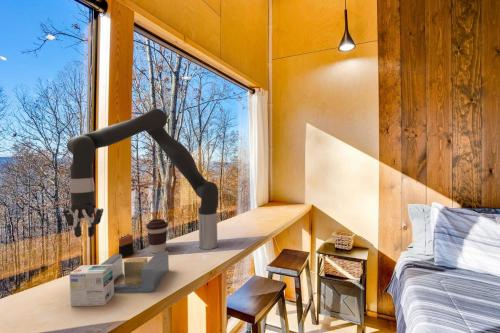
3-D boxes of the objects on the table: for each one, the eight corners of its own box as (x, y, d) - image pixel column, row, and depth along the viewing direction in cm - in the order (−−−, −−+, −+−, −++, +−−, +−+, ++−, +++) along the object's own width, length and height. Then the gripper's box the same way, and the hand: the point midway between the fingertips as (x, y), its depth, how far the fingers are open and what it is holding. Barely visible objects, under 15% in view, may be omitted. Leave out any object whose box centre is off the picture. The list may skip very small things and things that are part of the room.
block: (129, 278, 101) (128, 258, 101) (148, 278, 101) (147, 257, 101) (124, 283, 97) (123, 262, 97) (144, 283, 97) (143, 261, 97)
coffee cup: (161, 255, 124) (160, 223, 123) (142, 254, 126) (141, 222, 125) (172, 247, 134) (171, 218, 133) (154, 246, 136) (153, 217, 135)
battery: (115, 257, 123) (114, 235, 122) (127, 252, 129) (127, 232, 128) (121, 258, 121) (120, 237, 120) (133, 253, 127) (133, 233, 126)
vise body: (104, 271, 107) (103, 252, 107) (168, 270, 107) (168, 251, 107) (77, 293, 90) (76, 270, 90) (153, 292, 91) (153, 269, 90)
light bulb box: (115, 294, 89) (113, 263, 89) (104, 306, 83) (103, 272, 82) (82, 295, 89) (81, 264, 89) (69, 307, 82) (68, 273, 82)
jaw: (107, 273, 105) (106, 254, 104) (124, 273, 105) (123, 254, 105) (89, 289, 93) (88, 267, 92) (108, 288, 93) (107, 267, 93)
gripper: (107, 188, 101) (109, 233, 102) (70, 189, 101) (72, 233, 102) (96, 191, 94) (98, 239, 94) (55, 192, 93) (58, 240, 94)
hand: (84, 236), depth 98 cm, fingers open, 4 cm apart
